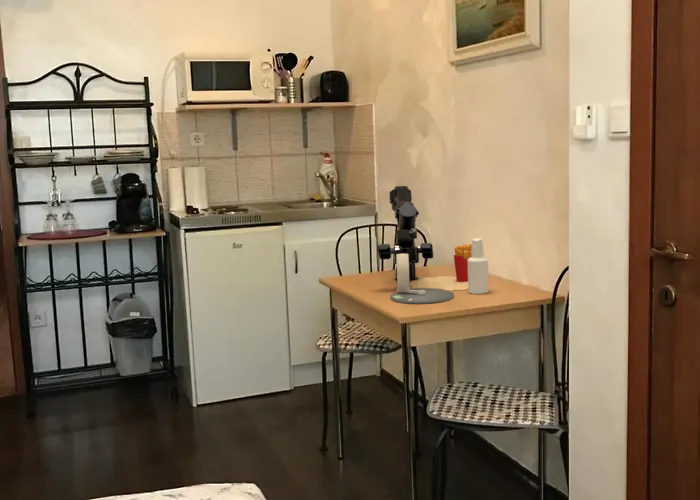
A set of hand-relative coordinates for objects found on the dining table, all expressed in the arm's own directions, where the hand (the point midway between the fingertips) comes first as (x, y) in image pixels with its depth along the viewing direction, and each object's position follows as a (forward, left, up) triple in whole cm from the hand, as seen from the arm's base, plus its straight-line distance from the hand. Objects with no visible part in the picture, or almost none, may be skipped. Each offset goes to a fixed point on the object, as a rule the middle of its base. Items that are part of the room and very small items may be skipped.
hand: (404, 271), depth 264 cm
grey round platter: (-1, +9, -8) cm, 12 cm away
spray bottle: (-20, +15, -8) cm, 26 cm away
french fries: (-30, -4, -8) cm, 31 cm away
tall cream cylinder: (+1, +3, -6) cm, 7 cm away
